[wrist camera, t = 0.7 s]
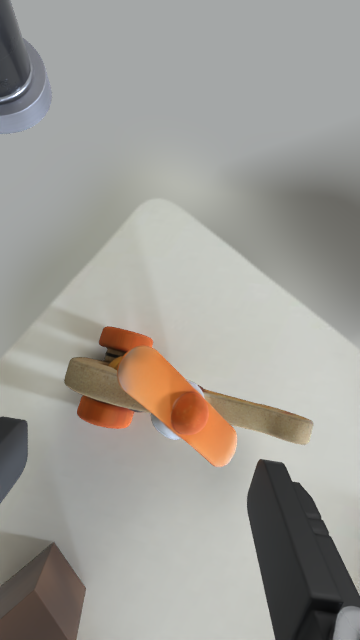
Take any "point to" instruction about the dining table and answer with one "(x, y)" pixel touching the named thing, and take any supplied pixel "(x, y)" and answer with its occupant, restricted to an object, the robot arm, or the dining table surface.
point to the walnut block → (42, 600)
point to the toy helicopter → (170, 399)
